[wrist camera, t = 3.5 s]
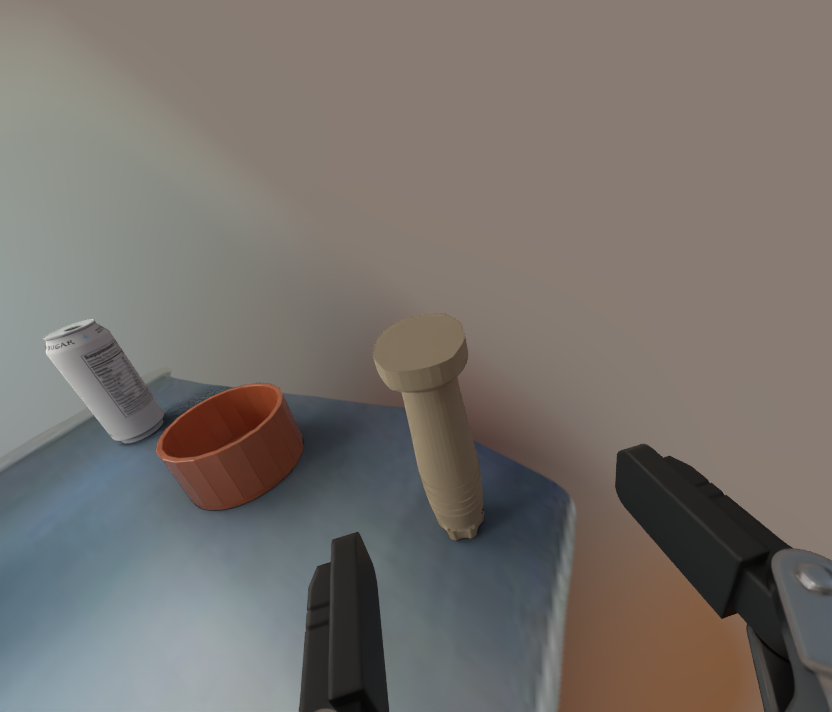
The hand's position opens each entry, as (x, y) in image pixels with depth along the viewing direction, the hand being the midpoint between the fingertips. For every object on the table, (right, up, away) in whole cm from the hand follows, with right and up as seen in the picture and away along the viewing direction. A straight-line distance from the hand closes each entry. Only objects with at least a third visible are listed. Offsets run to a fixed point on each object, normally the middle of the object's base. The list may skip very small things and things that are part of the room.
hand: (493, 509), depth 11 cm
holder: (-19, -6, +27) cm, 34 cm away
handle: (+1, -8, +16) cm, 17 cm away
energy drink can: (-38, -5, +37) cm, 54 cm away
